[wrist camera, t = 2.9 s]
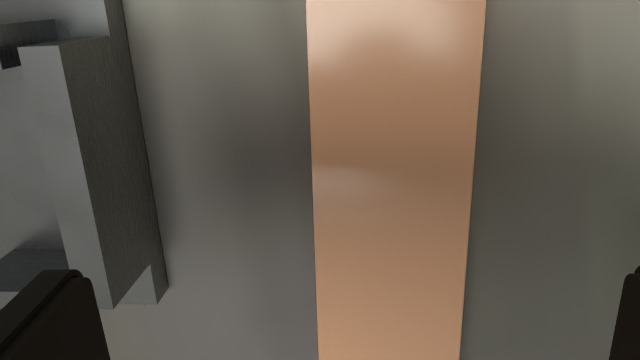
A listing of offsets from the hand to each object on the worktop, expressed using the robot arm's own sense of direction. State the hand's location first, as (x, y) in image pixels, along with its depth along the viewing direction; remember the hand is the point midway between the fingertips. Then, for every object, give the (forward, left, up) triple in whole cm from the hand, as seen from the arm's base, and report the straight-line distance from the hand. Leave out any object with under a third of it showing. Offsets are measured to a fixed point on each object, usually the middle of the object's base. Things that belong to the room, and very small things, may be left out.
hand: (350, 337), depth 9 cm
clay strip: (-1, +1, -8) cm, 8 cm away
